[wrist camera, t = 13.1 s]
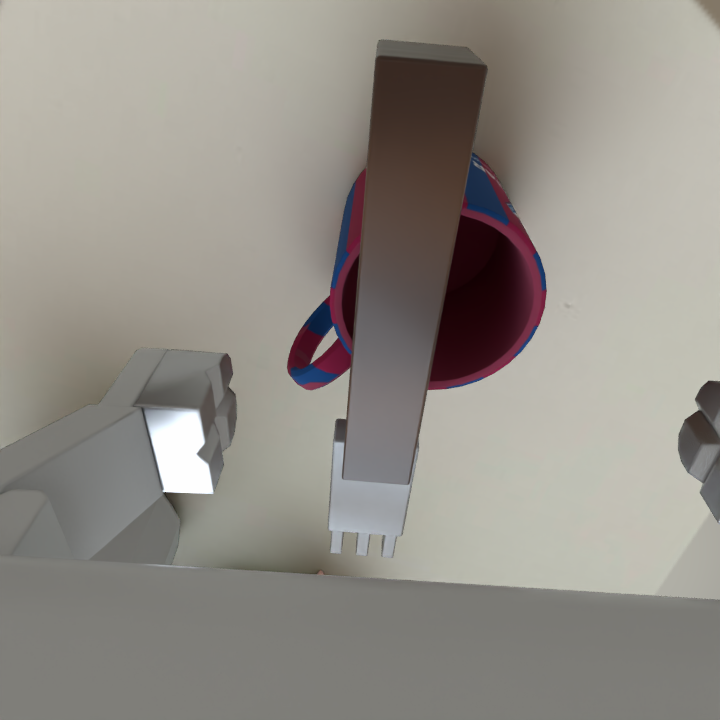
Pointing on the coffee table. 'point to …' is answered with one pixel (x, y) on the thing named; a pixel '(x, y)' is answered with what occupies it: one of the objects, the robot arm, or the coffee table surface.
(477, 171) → the cup
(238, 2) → the coffee table surface
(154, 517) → the jar
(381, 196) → the fork
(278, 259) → the coffee table surface
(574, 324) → the coffee table surface
